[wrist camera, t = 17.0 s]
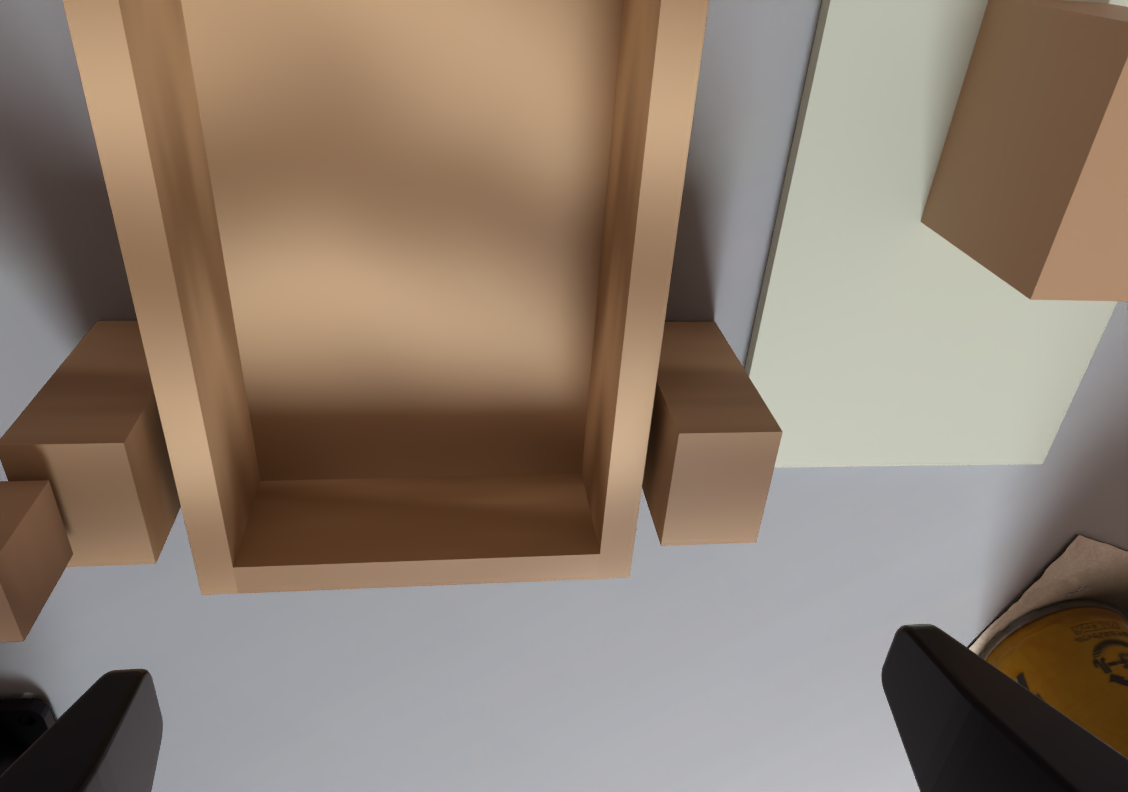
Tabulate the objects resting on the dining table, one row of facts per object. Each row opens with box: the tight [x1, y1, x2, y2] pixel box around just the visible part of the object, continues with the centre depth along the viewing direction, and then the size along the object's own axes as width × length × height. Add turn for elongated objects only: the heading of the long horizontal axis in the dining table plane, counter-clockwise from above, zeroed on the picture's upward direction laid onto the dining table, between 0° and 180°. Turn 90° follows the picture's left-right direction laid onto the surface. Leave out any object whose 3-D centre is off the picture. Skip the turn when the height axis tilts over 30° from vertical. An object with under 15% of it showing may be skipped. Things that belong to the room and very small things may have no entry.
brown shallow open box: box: [0, 0, 783, 595], centre depth 16 cm, size 16×15×5 cm
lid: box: [744, 0, 1128, 467], centre depth 18 cm, size 16×10×6 cm, turn 176°
